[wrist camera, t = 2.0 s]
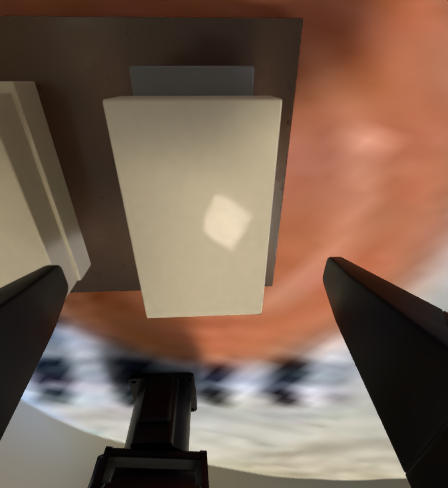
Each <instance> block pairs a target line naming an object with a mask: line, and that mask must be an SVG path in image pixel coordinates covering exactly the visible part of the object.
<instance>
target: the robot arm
mask: <svg viewBox="0 0 448 488" xmlns="http://www.w3.org/2000/svg"><path fill="white" fill-rule="evenodd" d="M323 283H324V286H325V289H326V293H327V296H328V299H329V302H330V305H331V308H332V311H333V314H334V317H335V320H336V323H337V325H338V327H339V329H340V332H341V334H342V336H343V338H344V340H345V343H346V345H347V347H348V349H349V351H350V354H351V356H352V358H353V360H354V362H355V365H356V367H357V369H358V371H359V373H360V376H361V378H362V380H363V382H364V384H365V386H366V389H367V391H368V393H369V395H370V397H371V400H372V402H373V404H374V406H375V408H376V411H377V413H378V415H379V417H380V419H381V422H382V424H383V426H384V428H385V430H386V433H387V435H388V437H389V439H390V441H391V444H392V446H393V448H394V450H395V452H396V455H397V457H398V459H399V461H400V463H401V466H402V468H403V470H404V472H405V473H406V477H407V479H408V481H409V484H410V486H411V488H448V312H446V311H442V309H440V308H438V307H436V306H434V305H432V304H430V303H428V302H426V301H424V300H422V299H421V298H419V297H417V296H415V295H413V294H411V293H409V292H407V291H405V290H403V289H401V288H399V287H397V286H396V285H394V284H392V283H390V282H388V281H386V280H384V279H382V278H380V277H378V276H376V275H374V274H373V273H371V272H369V271H367V270H365V269H363V268H361V267H359V266H357V265H355V264H353V263H351V262H349V261H348V260H346V259H344V258H342V257H329V258H328V259H327V262H326V266H325V270H324V275H323ZM67 293H68V283H67V280H66V277H65V275H64V272H63V269H62V267H61V266H59V265H46V266H43V267H41V268H39V269H37V270H35V271H33V272H31V273H29V274H27V275H25V276H23V277H21V278H19V279H17V280H15V281H13V282H11V283H9V284H7V285H5V286H3V287H1V288H0V440H1V438H2V436H3V434H4V432H5V430H6V428H7V426H8V424H9V421H10V420H11V417H12V415H13V414H14V411H15V409H16V407H17V405H18V403H19V401H20V399H21V397H22V395H23V393H24V391H25V389H26V387H27V385H28V383H29V381H30V379H31V377H32V375H33V373H34V371H35V369H36V367H37V365H38V362H39V360H40V358H41V356H42V354H43V352H44V350H45V348H46V346H47V344H48V342H49V340H50V338H51V336H52V334H53V331H54V329H55V326H56V324H57V321H58V318H59V315H60V313H61V310H62V307H63V304H64V301H65V299H66V296H67ZM129 385H130V389H131V392H132V395H133V398H134V402H135V404H134V409H133V413H132V417H131V422H130V426H129V430H128V435H127V439H126V444H125V448H113V447H111V446H110V447H109V446H106V448H105V451H104V454H102V455H100V456H98V458H97V461H96V464H95V468H94V471H93V475H92V477H91V481H90V483H89V486H88V488H209V481H208V464H207V451H202V450H201V451H200V452H197V451H189V435H190V416H191V412H193V411H196V410H197V401H196V390H195V380H194V374H193V373H170V374H148V375H132V376H130V377H129ZM110 479H111V481H110Z"/></svg>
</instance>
